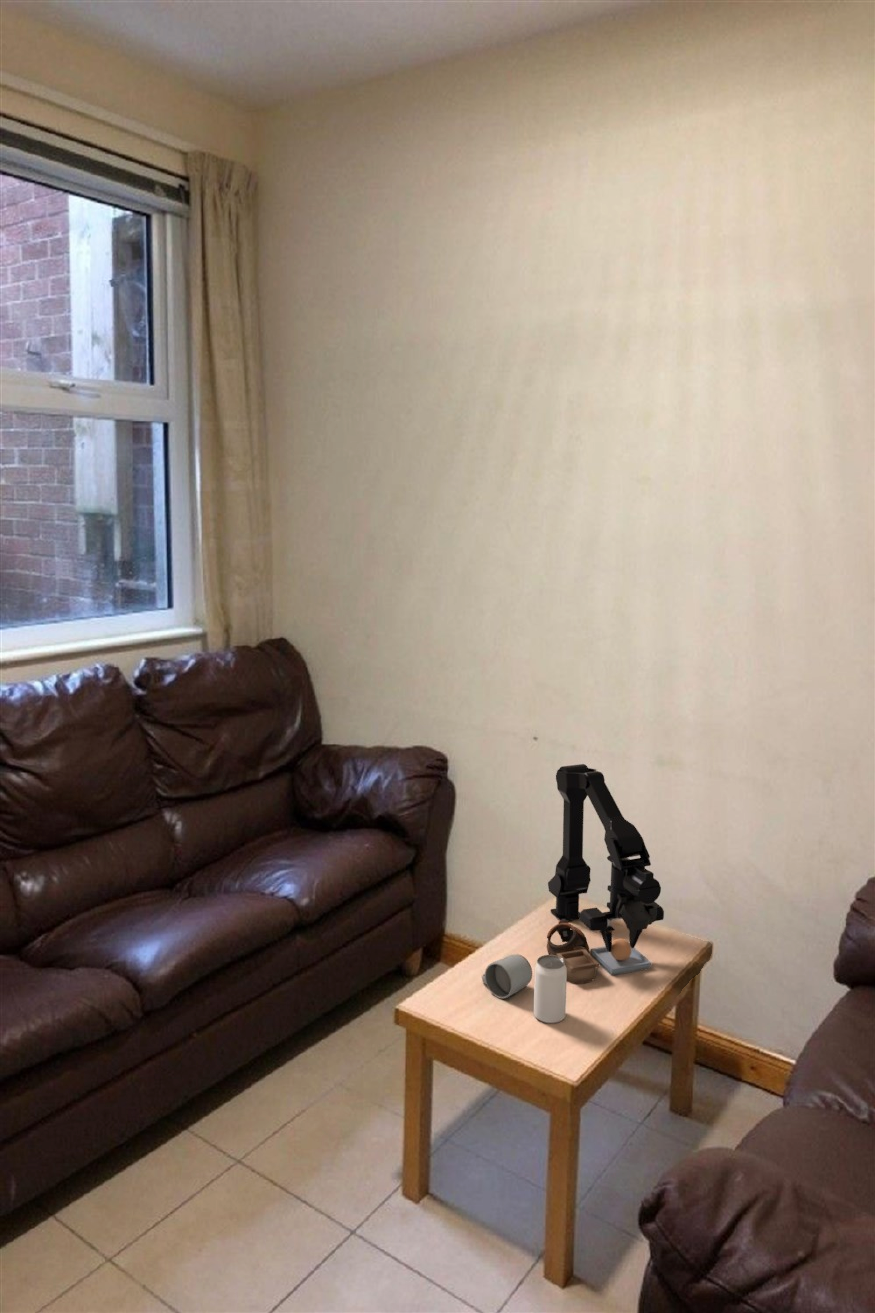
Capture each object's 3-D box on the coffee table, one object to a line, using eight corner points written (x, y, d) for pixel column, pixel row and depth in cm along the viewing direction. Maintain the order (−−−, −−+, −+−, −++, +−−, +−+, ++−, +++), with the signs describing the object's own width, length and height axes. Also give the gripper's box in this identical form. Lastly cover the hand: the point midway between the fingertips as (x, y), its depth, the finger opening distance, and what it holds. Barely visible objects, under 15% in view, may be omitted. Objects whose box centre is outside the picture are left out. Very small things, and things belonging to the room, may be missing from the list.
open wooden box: (552, 968, 210) (553, 953, 209) (584, 963, 213) (585, 947, 212) (569, 986, 203) (569, 970, 202) (601, 980, 205) (602, 964, 204)
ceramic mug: (534, 989, 201) (535, 956, 200) (511, 1004, 195) (511, 970, 194) (496, 973, 208) (496, 941, 207) (472, 987, 202) (472, 954, 201)
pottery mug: (597, 963, 214) (585, 939, 210) (560, 980, 214) (546, 956, 211) (583, 927, 224) (570, 904, 221) (547, 943, 225) (534, 920, 221)
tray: (590, 954, 216) (590, 948, 216) (628, 948, 219) (628, 942, 219) (611, 975, 207) (611, 969, 207) (651, 968, 210) (651, 962, 210)
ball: (606, 956, 215) (606, 937, 214) (624, 952, 216) (624, 933, 215) (616, 966, 210) (616, 946, 209) (635, 962, 212) (635, 942, 211)
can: (570, 1012, 192) (572, 959, 190) (557, 1028, 187) (559, 972, 185) (541, 1003, 196) (542, 950, 194) (528, 1018, 190) (529, 964, 188)
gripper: (604, 906, 199) (601, 973, 202) (679, 894, 205) (675, 959, 208) (579, 885, 210) (577, 949, 213) (652, 874, 216) (649, 937, 219)
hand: (620, 949), depth 213 cm, fingers open, 6 cm apart
